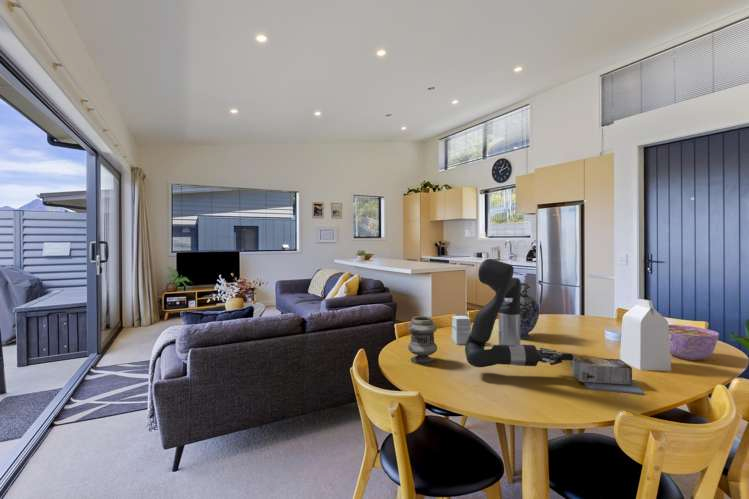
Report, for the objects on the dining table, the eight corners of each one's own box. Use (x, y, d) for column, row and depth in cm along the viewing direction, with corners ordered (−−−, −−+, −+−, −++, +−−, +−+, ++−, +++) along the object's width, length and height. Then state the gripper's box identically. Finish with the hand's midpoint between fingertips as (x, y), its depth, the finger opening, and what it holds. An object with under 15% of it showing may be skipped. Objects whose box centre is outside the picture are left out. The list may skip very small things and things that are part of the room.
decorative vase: (496, 331, 199) (497, 280, 199) (531, 332, 197) (532, 281, 196) (505, 341, 178) (506, 285, 178) (544, 343, 176) (545, 286, 175)
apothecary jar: (404, 363, 147) (404, 319, 147) (412, 355, 159) (411, 314, 158) (434, 366, 143) (434, 321, 143) (439, 357, 155) (439, 316, 154)
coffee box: (571, 356, 133) (619, 358, 130) (571, 373, 133) (619, 376, 130) (580, 364, 124) (632, 367, 121) (580, 382, 124) (632, 386, 121)
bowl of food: (654, 357, 152) (654, 330, 152) (658, 347, 167) (659, 322, 167) (719, 368, 138) (719, 338, 138) (718, 356, 153) (718, 329, 153)
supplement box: (451, 340, 182) (451, 315, 181) (466, 340, 182) (466, 315, 182) (456, 344, 174) (456, 318, 174) (471, 344, 175) (471, 318, 175)
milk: (619, 360, 149) (619, 297, 149) (648, 360, 149) (648, 297, 149) (640, 370, 137) (640, 302, 137) (671, 370, 137) (671, 302, 137)
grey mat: (587, 389, 120) (587, 387, 120) (577, 372, 136) (577, 371, 136) (644, 395, 115) (644, 393, 115) (626, 377, 130) (626, 375, 130)
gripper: (526, 350, 125) (580, 351, 123) (517, 340, 138) (565, 341, 136) (526, 371, 125) (580, 373, 123) (517, 359, 138) (565, 361, 136)
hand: (572, 356), depth 129 cm, fingers closed
